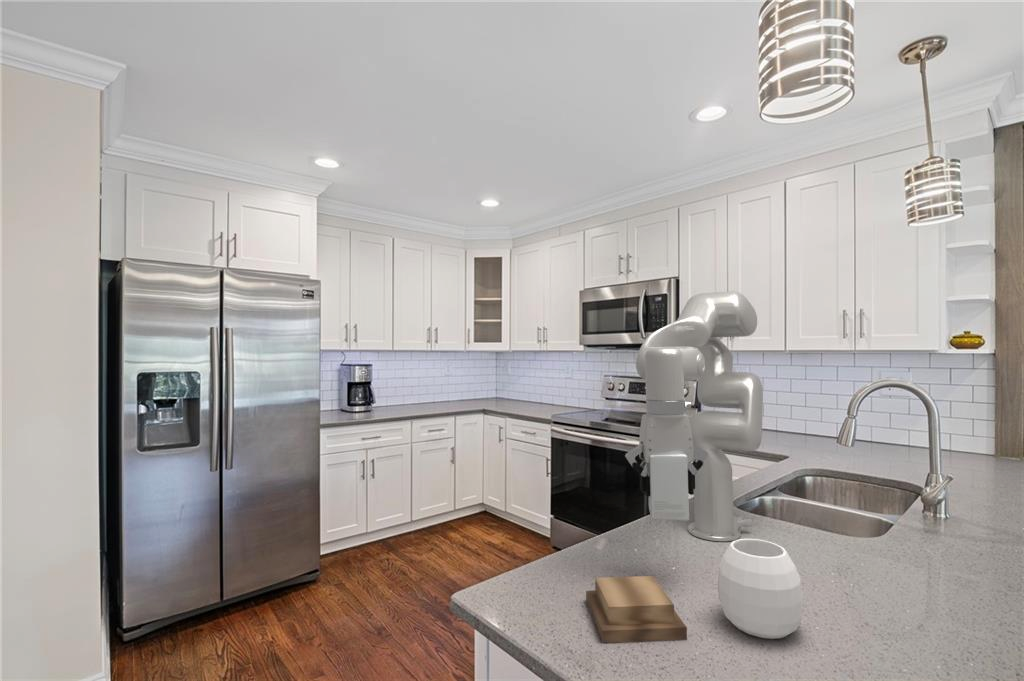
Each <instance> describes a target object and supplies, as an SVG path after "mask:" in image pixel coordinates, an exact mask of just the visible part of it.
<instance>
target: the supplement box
mask: <svg viewBox="0 0 1024 681" xmlns="http://www.w3.org/2000/svg"><path fill="white" fill-rule="evenodd" d="M648 476H649V477H650V496H648V510H649V514H650V518H651V519H652V520H664V521H665V520H666V521H667V520H670V521H689V520H690V509H689V508H690V505H689V504H690V503H689V493H688V468H687V456H686V455H685V454H675V455H652V456H650V471H649V473H648Z"/></svg>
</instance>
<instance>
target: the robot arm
mask: <svg viewBox="0 0 1024 681" xmlns="http://www.w3.org/2000/svg"><path fill="white" fill-rule="evenodd" d="M757 326H758V316H757V312H756V310H755V308H754V306H753V305H752V303H751V302H750V301H749V300H748V298H747V297H746V296H745V295H743V294H742V293H740V292H739V291H734V290H730V291H729V290H727V291H718V292H717V291H716V292H704V293H698V294H695V295H693V296H691V297H690V298H689V299H688V300H687V302H686V303H685V305H684V306H683V309H682V311H681V313H680V314H679V316H678V318H677V320H674V321H673V322H670V323H669V324H666V325H665V326H662V327H661V328H659V329H657V330H655V331H653V332H652V333H650V334H649V335H648V336H646V338H645V340H644V341H643V343H642V344H641V346H640V348H639V350H638V352H637V355H636V358H635V369H636V373H637V375H638V376H639V377H640V378H641V379H643V380H645V406H646V407H645V408H646V410H645V411H646V413H644V414H642V415H641V416H642V417H641V421H640V428H639V429H640V430H639V442H638V443H639V444H638V445H636V446H635V447H633V448H632V449H631V450H629V451H628V452H626V453H625V455H624V457H625V458H626V460H627V461H628V463H629V464H630V465H631V467H632V468H633V469H634V470H635V471H636V472H637V473H638V474H639V490H640V491H641V492H642V494H643V495H645V496H646V497H649V496H650V477H649V476H648V473H649V471H650V456H652V455H675V454H685V455H686V456H687V468H688V495H692V496H693V512H694V513H693V514H694V516H693V518H694V521H692V522H691V523H690V524H688V527H687V529H688V532H689V533H690V534H691V535H693V536H694V537H695V538H696V537H697V538H700V539H703V540H706V541H707V540H708V541H714V542H733V541H735V540H738V539H740V537H741V530H740V529H741V527H745V528H747V527H748V528H749V527H753V526H754V525H753V524H754V523H753V520H752V519H751V518H743V517H742V516H735V515H734V494H733V493H734V488H733V467H732V463H731V461H730V459H729V458H728V457H727V455H726V454H725V452H724V450H730V451H742V452H754V451H757V450H758V449H759V448H760V446H761V443H762V439H763V438H762V437H763V412H764V411H763V410H764V409H763V406H764V405H763V404H764V394H763V393H764V391H763V390H764V389H763V383H762V380H761V379H760V377H759V376H758V375H756V374H755V373H752V372H748V371H747V372H746V371H745V372H744V371H743V372H741V371H740V372H739V371H735V372H734V371H733V368H734V367H733V365H734V364H733V363H734V362H733V361H734V355H733V353H732V352H731V350H730V349H729V348H728V347H727V345H725V344H724V343H723V342H722V341H721V340H720V339H719V338H737V337H738V338H739V337H740V338H741V337H750V336H751V335H753V334H754V333H755V332H756V330H757ZM696 380H697V390H696V392H697V400H698V402H699V403H700V404H701V405H703V406H704V407H705V406H706V407H709V408H719V409H739V410H741V411H742V412H731V411H719V410H718V411H717V410H716V411H715V410H702V411H697V412H695V413H693V414H692V415H691V416H690V418H689V416H688V414H686V410H688V409H691V408H692V403H691V401H686V399H685V385H684V384H685V382H694V381H696ZM638 455H639V460H641V461H642V462H641V463H640V464H639V463H638V462H637V460H636V457H637V456H638Z"/></svg>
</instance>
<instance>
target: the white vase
mask: <svg viewBox="0 0 1024 681" xmlns="http://www.w3.org/2000/svg"><path fill="white" fill-rule="evenodd" d="M717 575H718V576H717V593H718V594H717V595H718V596H717V597H718V600H719V603H720V605H721V608H722V611H723V613H724V615H725V616H724V617H726V619H728V621H730V623H731V624H732V625H733V626H735V627H736V628H737V629H738V630H740V631H741V632H744V633H746V634H747V635H751V636H755V637H757V638H762V639H771V640H774V639H776V640H777V639H783V638H785V637H786V636H789V635H790V634H792V633H793V632H796V631H797V630H798V628H799V626H800V623H801V621H802V617H803V613H804V594H803V585H802V579H801V577H800V575H799V572H798V569H797V567H796V564H795V563H794V562H793V560H792V558H791V556H790V555H789V553H788V552H787V550H786V549H785V548H784V547H783V546H781V545H779V544H777V543H774V542H771V541H769V540H764V539H760V538H759V539H758V538H738V539H736V540H733V541H731V543H730V544H729V546H728V547H727V550H726V551H725V552H724V554H723V556H722V558H721V561H720V564H719V566H718V574H717Z"/></svg>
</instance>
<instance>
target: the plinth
mask: <svg viewBox="0 0 1024 681" xmlns="http://www.w3.org/2000/svg"><path fill="white" fill-rule="evenodd" d="M594 581H595V582H594V584H595V586H594V588H595V589H592V590H591V589H590V590H585V599H586V604H587V606H588V608H589V612H590V614H591V617H592V620H593V622H594V624H595V627H596V630H597V632H598V634H599V637H600V640H601V643H602V644H613V643H614V644H615V643H635V642H636V643H637V642H638V643H639V642H658V641H659V642H661V641H680V640H682V641H684V640H688V633H687V630H688V629H687V626H686V624H685V623H684V621H683V620H682V619H681V617H680V616H679V615H678V613H677V612H676V611H675V604H674V603H673V601H671V599H670V597H669V596H668V594H667V593H666V592H665V590H664V589H663V588H662V586H661V585H660V584H659V583H658V581H657V580H656V578H655V577H654V576H653V575H643V576H642V575H640V576H636V575H635V576H614V577H612V576H611V577H609V576H607V577H595V578H594Z"/></svg>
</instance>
